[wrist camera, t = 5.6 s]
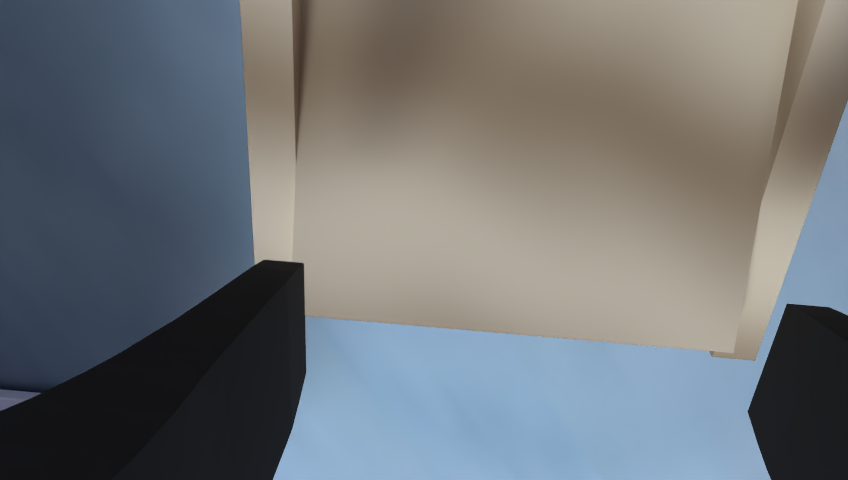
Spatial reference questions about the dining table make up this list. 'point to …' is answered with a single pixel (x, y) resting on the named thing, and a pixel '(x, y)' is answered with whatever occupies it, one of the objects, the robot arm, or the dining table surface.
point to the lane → (543, 160)
